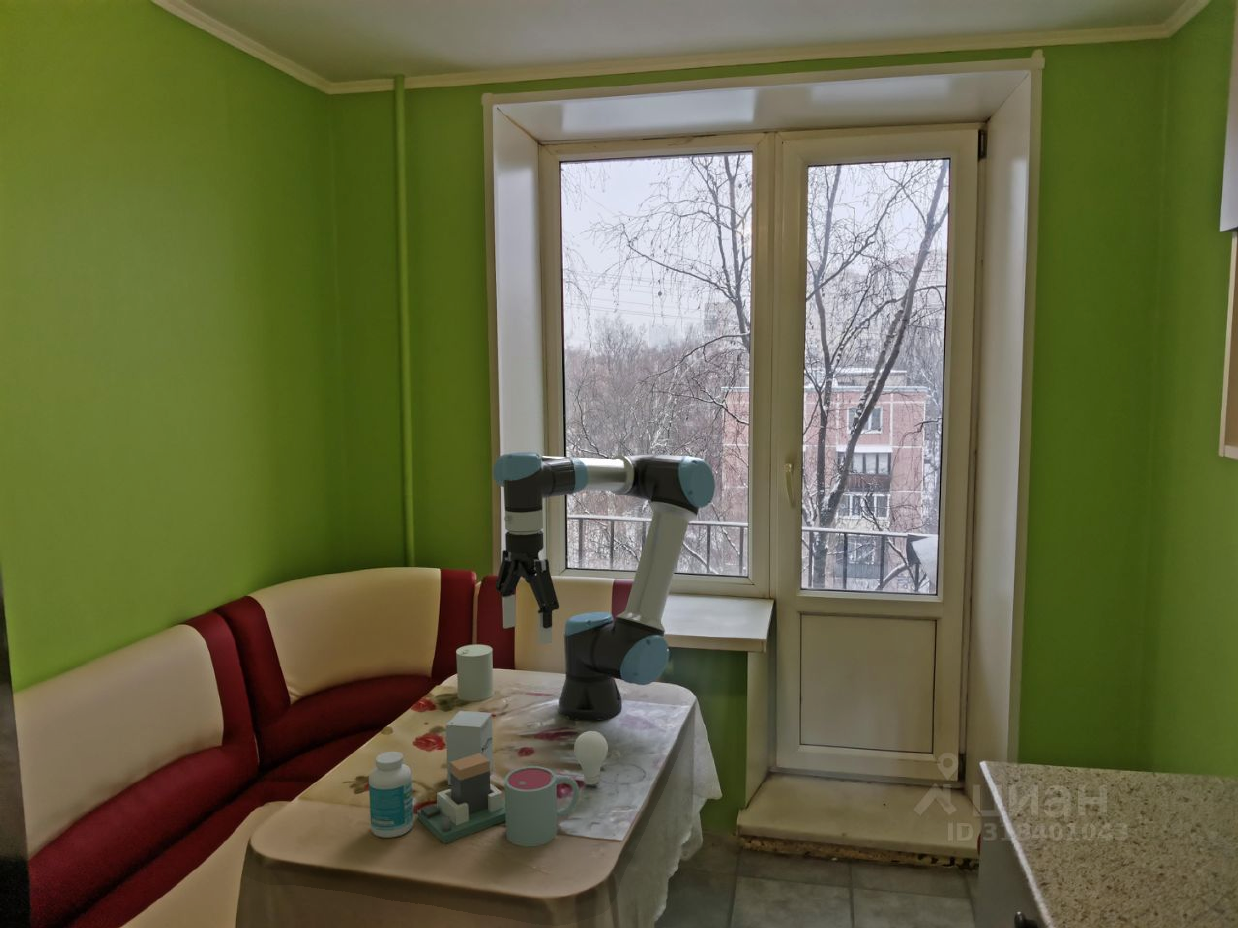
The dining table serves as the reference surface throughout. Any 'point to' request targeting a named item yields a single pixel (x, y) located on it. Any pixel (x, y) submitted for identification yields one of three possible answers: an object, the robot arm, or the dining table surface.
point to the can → (475, 672)
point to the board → (460, 816)
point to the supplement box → (469, 737)
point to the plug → (471, 782)
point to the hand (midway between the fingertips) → (527, 634)
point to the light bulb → (591, 755)
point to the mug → (534, 804)
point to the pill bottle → (390, 796)
